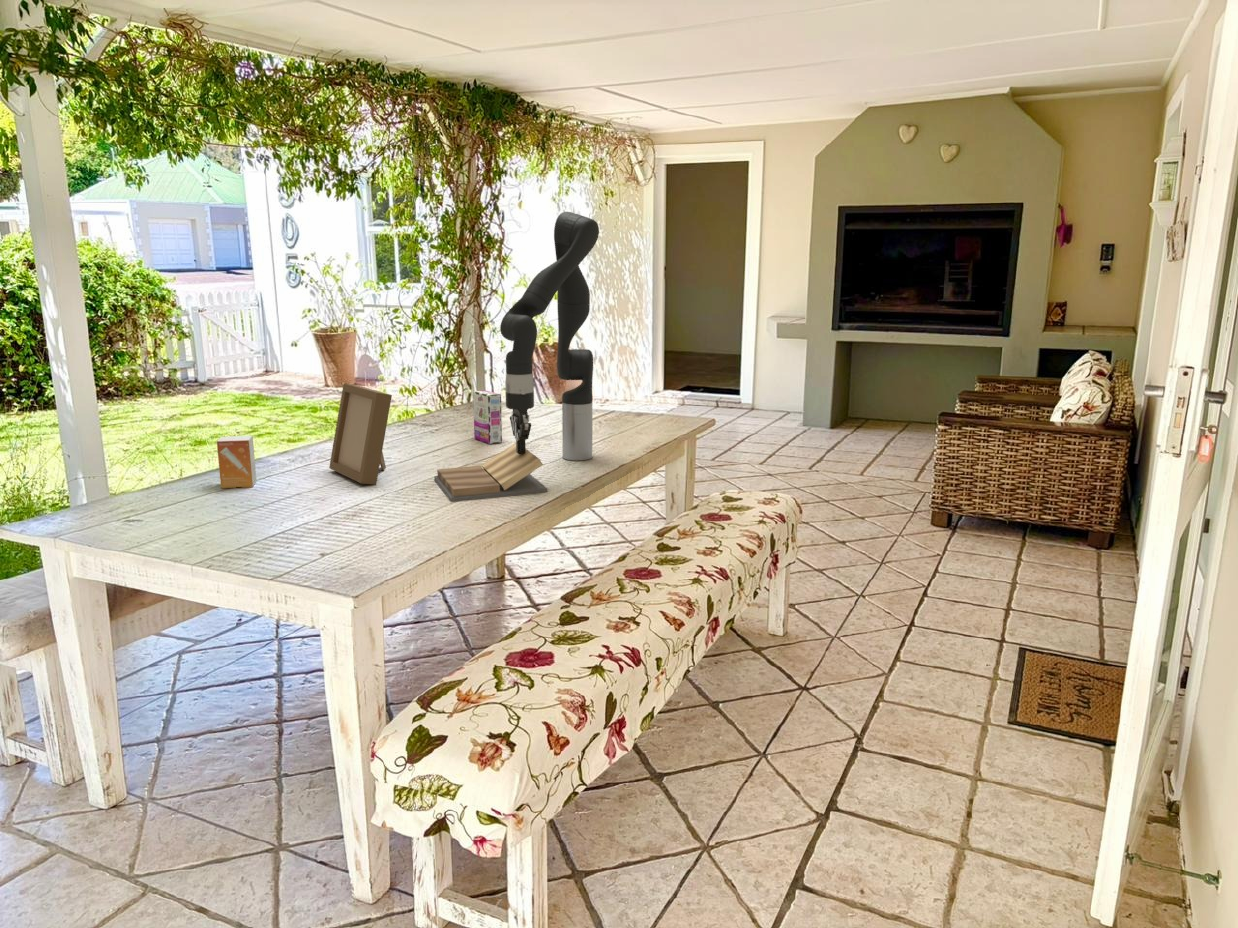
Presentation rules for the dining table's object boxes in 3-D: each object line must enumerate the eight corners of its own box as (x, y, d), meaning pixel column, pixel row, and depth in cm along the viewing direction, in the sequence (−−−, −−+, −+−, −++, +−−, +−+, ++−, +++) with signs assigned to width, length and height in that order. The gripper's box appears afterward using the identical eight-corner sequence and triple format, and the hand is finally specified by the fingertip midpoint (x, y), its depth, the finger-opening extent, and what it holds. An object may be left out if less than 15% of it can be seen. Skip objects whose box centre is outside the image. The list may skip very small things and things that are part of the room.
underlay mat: (434, 479, 241) (434, 476, 240) (523, 471, 250) (523, 468, 250) (451, 501, 220) (450, 497, 220) (547, 492, 229) (547, 488, 229)
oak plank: (484, 470, 245) (481, 465, 244) (520, 447, 247) (516, 441, 247) (504, 490, 225) (501, 484, 224) (542, 464, 228) (539, 458, 227)
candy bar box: (503, 443, 287) (502, 394, 283) (489, 444, 284) (488, 395, 280) (486, 437, 296) (485, 389, 292) (473, 439, 293) (472, 390, 289)
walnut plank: (437, 476, 240) (437, 469, 240) (480, 472, 245) (480, 465, 244) (453, 496, 220) (453, 489, 220) (499, 492, 225) (499, 484, 224)
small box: (220, 489, 230) (215, 441, 227) (225, 483, 236) (220, 436, 233) (253, 487, 232) (249, 439, 229) (257, 481, 238) (252, 434, 235)
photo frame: (361, 487, 232) (356, 394, 227) (329, 471, 249) (324, 384, 243) (412, 479, 242) (408, 389, 236) (378, 464, 258) (374, 380, 252)
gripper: (499, 387, 237) (501, 449, 241) (512, 394, 225) (514, 459, 229) (526, 386, 239) (527, 447, 243) (540, 393, 227) (541, 457, 231)
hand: (521, 453), depth 236 cm, fingers closed
